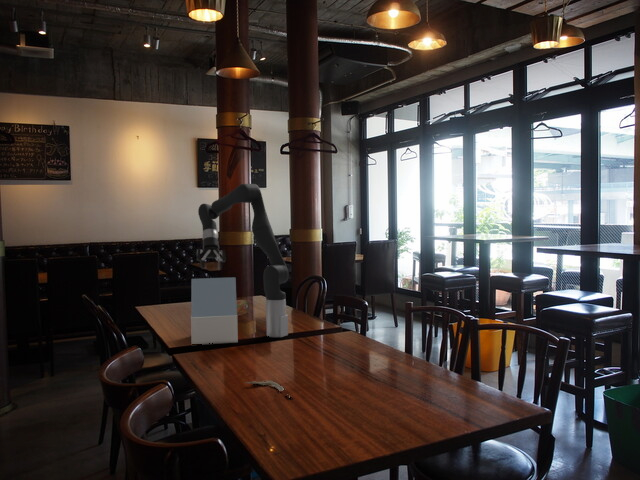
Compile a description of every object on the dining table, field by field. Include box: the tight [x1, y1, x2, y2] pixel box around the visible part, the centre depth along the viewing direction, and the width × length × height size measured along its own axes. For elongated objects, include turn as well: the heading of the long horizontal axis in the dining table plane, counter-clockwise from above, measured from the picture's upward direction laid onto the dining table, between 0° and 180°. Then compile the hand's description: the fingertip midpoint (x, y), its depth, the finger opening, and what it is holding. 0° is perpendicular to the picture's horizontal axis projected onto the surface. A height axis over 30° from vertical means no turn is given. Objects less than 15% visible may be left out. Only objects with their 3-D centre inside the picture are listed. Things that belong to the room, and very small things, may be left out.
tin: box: [236, 299, 250, 317], centre depth 286 cm, size 15×3×8 cm, turn 143°
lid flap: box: [190, 276, 237, 318], centre depth 224 cm, size 18×20×1 cm
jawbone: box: [245, 380, 291, 398], centre depth 162 cm, size 9×20×2 cm, turn 52°
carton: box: [190, 315, 239, 345], centre depth 230 cm, size 18×20×12 cm
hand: (212, 268), depth 248 cm, fingers open, 8 cm apart
